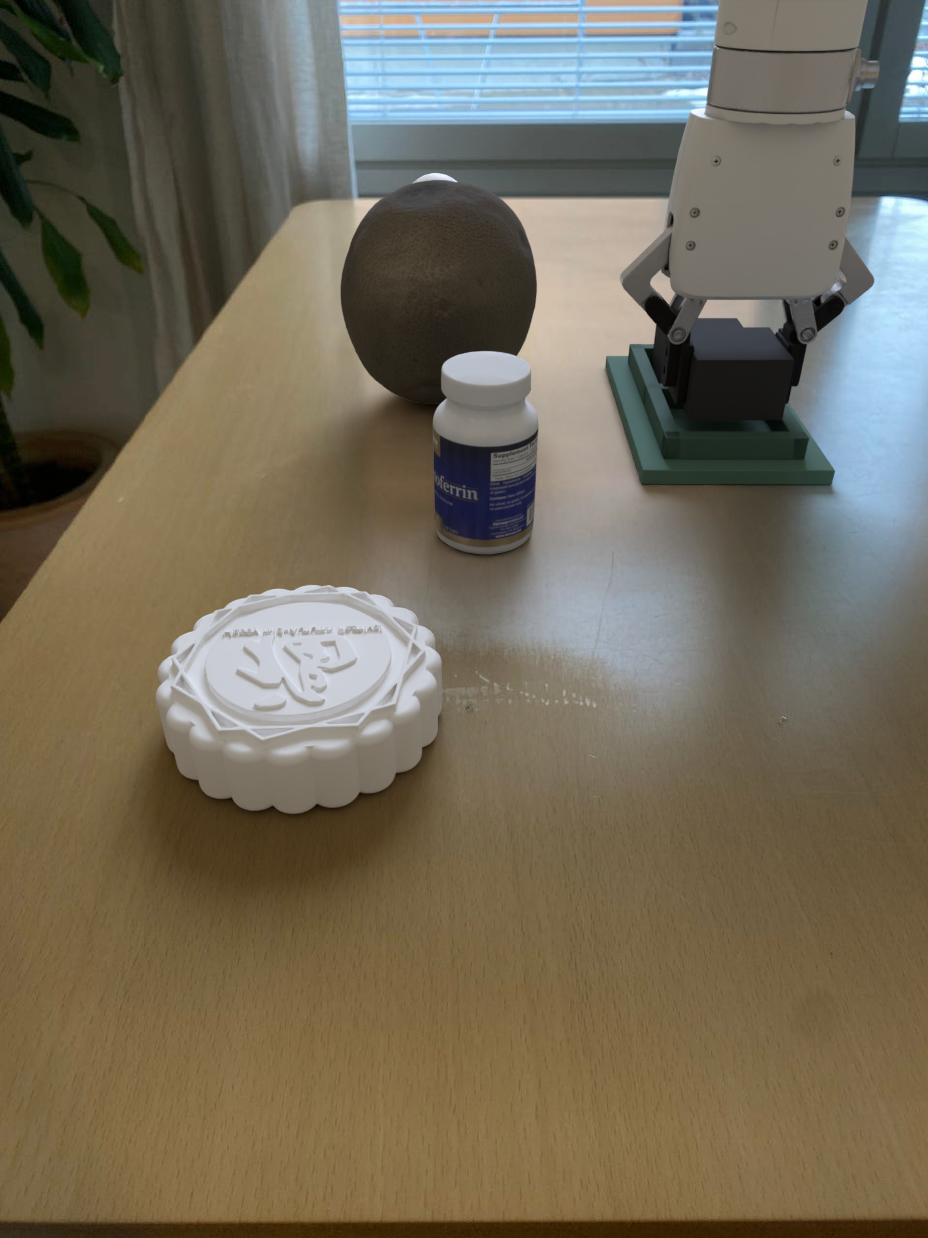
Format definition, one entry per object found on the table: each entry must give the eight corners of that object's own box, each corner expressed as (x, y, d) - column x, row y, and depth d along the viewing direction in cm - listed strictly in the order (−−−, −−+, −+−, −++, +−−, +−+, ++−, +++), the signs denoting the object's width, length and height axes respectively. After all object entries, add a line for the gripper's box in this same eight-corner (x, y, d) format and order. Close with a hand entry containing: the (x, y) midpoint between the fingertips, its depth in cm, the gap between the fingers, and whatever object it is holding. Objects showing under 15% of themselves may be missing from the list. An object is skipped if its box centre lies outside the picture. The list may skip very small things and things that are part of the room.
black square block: (728, 369, 73) (737, 317, 70) (746, 400, 68) (757, 345, 65) (650, 369, 73) (656, 317, 70) (663, 400, 68) (670, 345, 65)
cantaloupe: (305, 406, 69) (282, 186, 61) (432, 354, 78) (428, 155, 69) (451, 462, 62) (449, 220, 53) (573, 397, 71) (589, 181, 62)
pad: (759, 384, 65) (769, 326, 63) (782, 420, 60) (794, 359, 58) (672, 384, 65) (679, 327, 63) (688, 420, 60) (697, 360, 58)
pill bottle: (415, 526, 55) (409, 361, 49) (492, 499, 58) (495, 339, 52) (474, 569, 51) (475, 396, 46) (553, 537, 54) (564, 370, 48)
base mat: (754, 367, 76) (760, 337, 74) (831, 484, 59) (841, 448, 58) (605, 367, 76) (607, 336, 74) (641, 484, 59) (645, 448, 58)
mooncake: (138, 824, 37) (119, 756, 34) (194, 638, 46) (181, 577, 44) (447, 812, 37) (446, 745, 35) (438, 631, 47) (437, 570, 45)
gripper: (909, 76, 55) (839, 374, 65) (612, 77, 55) (590, 375, 66) (964, 93, 49) (876, 419, 59) (630, 95, 49) (602, 420, 59)
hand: (726, 393), depth 62 cm, fingers closed on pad, 5 cm apart
